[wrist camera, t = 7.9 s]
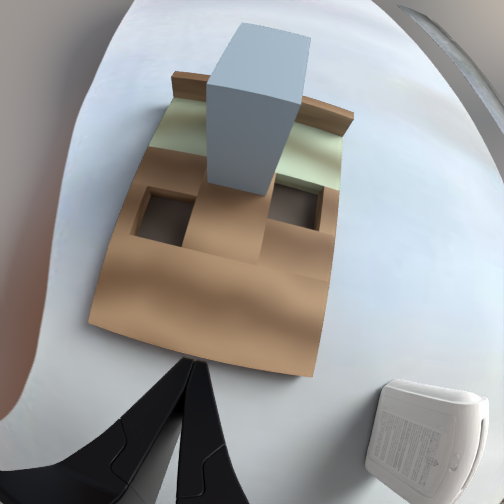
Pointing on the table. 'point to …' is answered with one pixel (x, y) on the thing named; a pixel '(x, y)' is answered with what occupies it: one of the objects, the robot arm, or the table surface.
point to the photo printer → (427, 441)
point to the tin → (253, 105)
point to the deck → (226, 244)
